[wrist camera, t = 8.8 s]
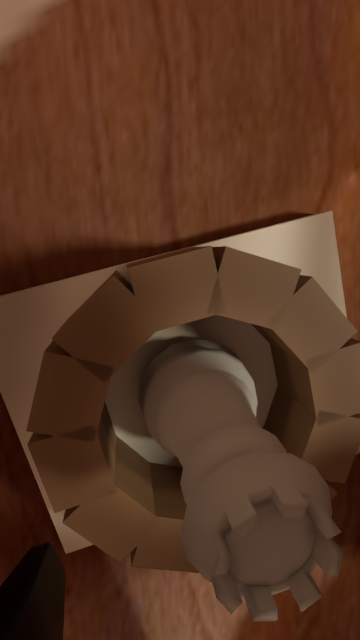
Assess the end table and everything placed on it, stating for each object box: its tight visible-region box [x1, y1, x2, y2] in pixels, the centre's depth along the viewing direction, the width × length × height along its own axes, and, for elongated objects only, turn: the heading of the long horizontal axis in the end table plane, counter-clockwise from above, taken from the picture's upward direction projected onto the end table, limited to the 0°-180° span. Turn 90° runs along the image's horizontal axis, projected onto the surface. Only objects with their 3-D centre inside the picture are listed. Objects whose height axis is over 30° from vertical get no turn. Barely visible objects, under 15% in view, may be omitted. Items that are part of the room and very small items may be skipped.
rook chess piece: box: [138, 339, 344, 622], centre depth 10 cm, size 4×4×8 cm
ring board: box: [0, 211, 360, 573], centre depth 13 cm, size 14×11×4 cm
